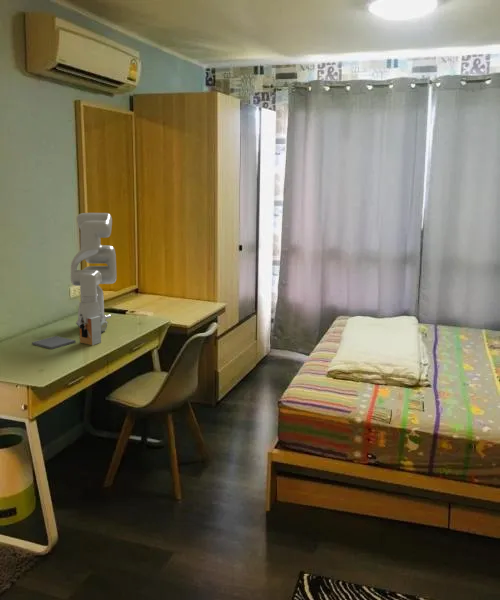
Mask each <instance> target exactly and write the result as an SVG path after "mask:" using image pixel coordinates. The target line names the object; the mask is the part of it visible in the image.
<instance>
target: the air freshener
mask: <svg viewBox="0 0 500 600" xmlns="http://www.w3.org/2000/svg"><path fill="white" fill-rule="evenodd" d="M100 314H101V315H102V312H100ZM107 328H108V322H107V323H106V322H105V321H103V320H101V334H103V332H105V331H106V330H107Z"/></svg>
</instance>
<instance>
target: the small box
mask: <svg viewBox="0 0 500 600" xmlns="http://www.w3.org/2000/svg"><path fill="white" fill-rule="evenodd" d="M83 322H84V321H83ZM81 323H82V322H81ZM78 328H79V343H80V344H81V343H82V344H85V345H90V346H95V345H97V344H100V343H102V333H101V320H100V316H95V317H91V318H88V323H87V327H86V329H87V338H85V337H82V329H80V327H79V326H78Z"/></svg>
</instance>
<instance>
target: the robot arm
mask: <svg viewBox="0 0 500 600" xmlns="http://www.w3.org/2000/svg"><path fill="white" fill-rule="evenodd" d="M76 222H77V226H78V227H79V231H80V250H79V251H78V252H77V253H76V254H75V255H74V257H73V259H72V261H71V264H70V281H71V284H72V285H73V286H78V287H80V289H79V290H80V291H79V294H80V302H78V309H77V310H78V313H77V315H78V316H77V321H76V322H75V325H77V326H78V328H79V327H80V328H79V330H80V329H82V337H85V338H87V329H86V327H87V323H88V318H91V317H95V316H100V320H103V321H105V322H106V323H107V324H108V321H107V320H108V319H111V317H112V315H111V314H105V301H104V298H105V297H104V291H103V288H102V287H101V286H100V285H104V284H105V285H111V284H115V283H116V281H117V277H118V276H117V255H116V249H115V247H114V246H112V245H104V244H101V243H102V242H101V240H102V239H101V238H103V239H105V238H109V237H110V236H111V235H112V226H113V218H112V215H111V214H110V213H109V212H82V213H79V214H78V215H77V216H76ZM84 260H85V262H86V263H88V264H106V265H90V266H88V265H87V266H86V267H84V268H83V269H78V265H79V264H80V263H81V262H82V261H84ZM100 312H102V315H101V314H100ZM83 321H84V322H83ZM81 322H82V323H81Z"/></svg>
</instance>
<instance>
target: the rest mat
mask: <svg viewBox="0 0 500 600" xmlns="http://www.w3.org/2000/svg"><path fill="white" fill-rule="evenodd" d="M76 342H77V341H76V340H75V339H71V338H67V337H62V336H58V335H54V336H51V337H47V338H43V339H40V340H35V341H32V342H31V345H33V346H37V347H40V348H41V347H42V348H45V349H48V350H53V349H58V348H62V347H64V346H69V345H72V344H76Z"/></svg>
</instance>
